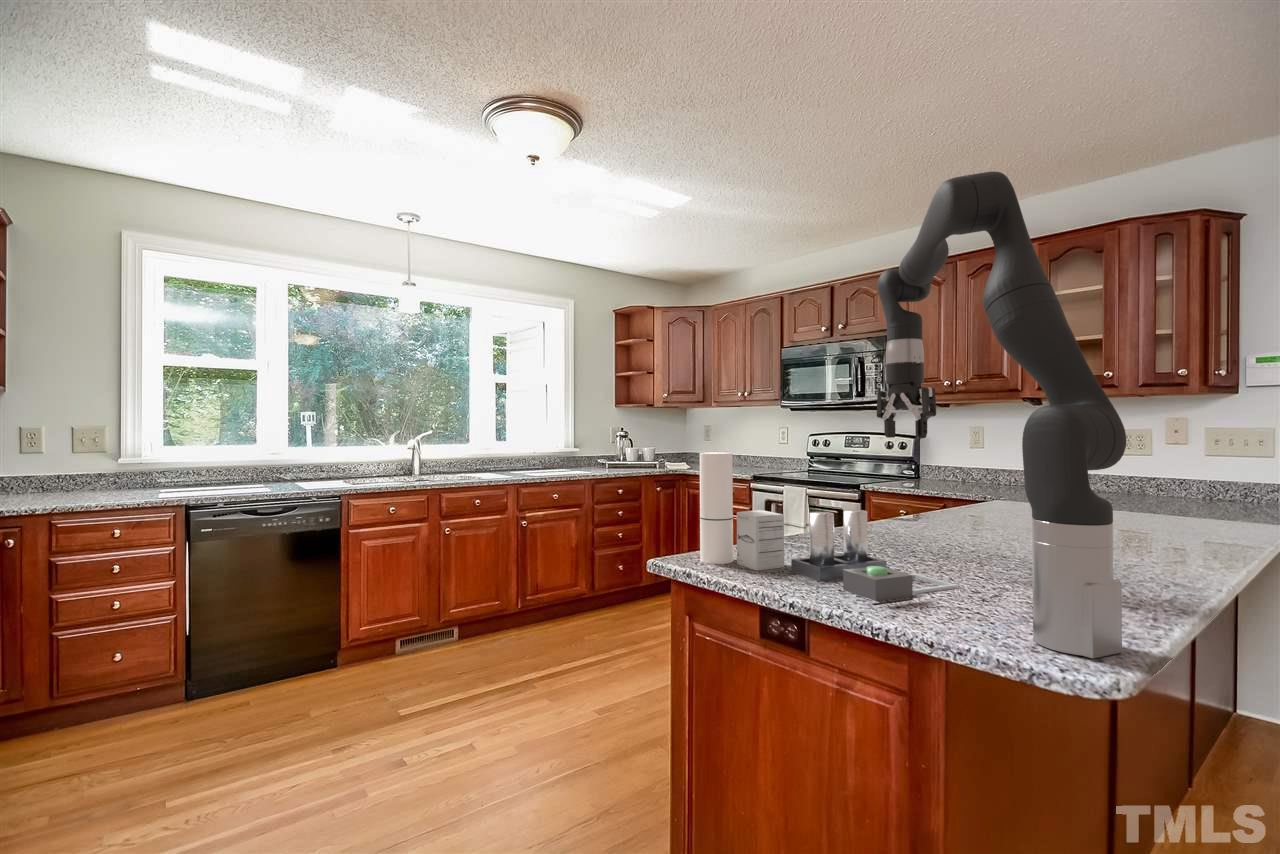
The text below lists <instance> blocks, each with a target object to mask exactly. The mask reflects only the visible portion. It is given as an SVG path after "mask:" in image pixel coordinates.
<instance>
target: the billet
mask: <svg viewBox="0 0 1280 854" xmlns="http://www.w3.org/2000/svg"><path fill="white" fill-rule="evenodd" d="M842 511H843V512H842V514H843V515H842V516H843V517H842V522H843V524H842V525H843V526H842V527H843V528H842V529H843V533H842V534H843V554H844V561H848V562H851V563H857V562H866V561H868V552H869V550H868V549H869V548H868V547H869V545H868V544H869V543H868V541H869V540H868V539H869V538H868V537H869V536H868V510H864V509H863V510H862V509H845V510H842Z"/></svg>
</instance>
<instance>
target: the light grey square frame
mask: <svg viewBox="0 0 1280 854" xmlns="http://www.w3.org/2000/svg"><path fill="white" fill-rule="evenodd" d="M908 574H909V575H912V579H913V578H916V579H919V580H923V581H926V582H930V583H933V584H936V585H935V586H927V587H921V588H920V587H919V588H913V587H912V590H913V595H915V594H922V593H923V594H925V593H930V592H937V591H946V590H953V589H954V590H955V589H958V584H954V583H952V582H947V581H944V580H940V579H937V578H933V577H929V576H926V575H923V574H918V573H914V572H912V573H908Z"/></svg>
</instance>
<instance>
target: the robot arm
mask: <svg viewBox="0 0 1280 854" xmlns="http://www.w3.org/2000/svg"><path fill="white" fill-rule="evenodd" d="M1026 225H1027V224H1026V222H1025V219H1024V216H1023V213H1022V209H1021V207H1020V204H1019V201H1018V197H1017V194H1016V191H1015V188H1014V186H1013V184H1012V183H1011V181H1010V179H1009V178H1008V176H1007V175H1006V174H1004V173H1002V172H1001V171H986V172H985V171H984V172H979V173H971V174H965V175H960V176H957V177H956V176H955V177H952V178H949V179H946V180H945V181H943V182H942V183H941V184H940V185H939V186H938V188H937V190H936V192H935V193H934V195H933V197H932V199H931V201H930V203H929V207H928V209H927V210H926V214H925V216H924V218H923V222H922V223H921V227H920V229H919V232H918V235H917V237H916V239H915V241H914V243H913V244H912V246H911V247H910V248H909V250H908V251H907V252H906V254H905V256H904V257H903V258H902V259H901V262H900V263H899V265H898V266H899V267H898V268H889V269H885V270H884V271H882V273H881V274H880V276H879V277H878V279H877V292H878V296H879V297H878V298H879V300H880V303H881V306H882V309H883V313H884V316H885V322H886V348H885V384H887V385H888V390H878V391H877V397H876V417H877V418H879V419H882V421H883V422H884V423H883V425H884V426H883V431H884V435H885V438H891V439H892V438H893V439H894V438H895V437H896V420H895V419H896V417H897V416H898V414H899V413H901V411H902V410H909V411H910V412H911V413H912V414H913V416H914V417H915V422H914V423H915V425H914V426H915V439H916V438H917V439H926V438H927V435H928V420H929V419H930V418H932V417H936V416H937V404H936V389H935V387H928V386H926V387H925V386H924V387H922V385H923V384H924V382H925V349H924V344H923V343H924V342H923V319H922V315H921V314H919V313H918V312H914V311H909V310H906V309H904V308H903V307H902V306H901V304H900V303H915V302H916V303H917V302H920V301H923V300H925V299H926V298H928V296H929V295H930V292H931V289H932V283H933V280H934V277H935V276H937V274H938V273H939V272H940V271H941V270H942V269H943V267H944V266H945V265H946V262H947V260H948V257H949V252H950V251H949V250H950V249H949V244H948V241H947V240H946V239H947V238H950V236H953V235H956V236H957V235H958V236H960V235H966V234H972V233H979V232H980V233H981V232H986V233H987V234H988V235H989V237H990V238H991V241H992V243H993V247H994V251H995V255H994V261H993V265H992V267H991V270H990V273H989V275H988V278H987V280H986V284H985V287H984V291H983V295H982V304H983V308H984V311H985V315H986V317H987V319H988V322H989V325H990V327H991V330H992V331H993V333H994V334H993V335H994V336H995V338H996V340H997V342H998V344H999V345H1000V346H1001V347H1002V348H1003V350H1004V351H1005V352H1006V353H1007V354H1008V355H1009V356H1010V357H1011V358H1012V359H1013V360H1014V361H1015V362H1016V363H1017V364H1018V365H1019V366H1020V367H1022V368H1023V370H1025V371H1026V372H1027V373H1028V374H1029V375H1030V376H1031V377H1032V379H1034V381H1036V383H1037V384H1038V385H1039V387H1040V389H1041V390H1042V391H1043V393H1044V395H1045V397H1046V400H1047V401H1048V403H1049V404H1048V405H1044V406H1041V407H1039V408H1037V409H1036V410H1034V411H1033V412H1032V413H1031V414H1030V415H1029V417H1028V418H1027V420H1026V422H1025V425H1024V428H1023V433H1022V437H1021V438H1022V439H1021V440H1022V441H1021V442H1022V444H1021V445H1022V446H1021V447H1022V449H1021V450H1022V464H1023V466H1022V467H1023V477H1024V479H1023V480H1024V490H1025V491H1024V492H1025V495H1026V498H1027V501H1028V502H1029V505H1030V508H1031V532H1032V533H1031V535H1032V537H1031V545H1032V546H1031V547H1032V549H1031V550H1032V553H1031V558H1032V560H1031V562H1032V563H1031V564H1032V567H1031V568H1032V570H1031V571H1032V638H1033V641H1034V642H1035V643H1036V644H1038V645H1040V646H1042V647H1044V648H1047V649H1048V650H1049V649H1050V650H1053V651H1057V652H1061V653H1064V654H1069V655H1070V654H1071V655H1076V656H1083V657H1086V658H1090V659H1098V658H1102V657H1106V656H1107V657H1108V656H1112V655H1115V654H1120V653H1123V617H1122V615H1123V609H1122V606H1123V604H1122V602H1123V600H1122V596H1123V595H1122V594H1123V592H1122V582H1121V581H1120V580H1118V579H1114V578H1115V577H1114V509H1113V508H1114V507H1113V506H1112V503H1111V502H1110V501H1109V500H1107V499H1105V498H1103V497H1100V496H1099V495H1097V494H1096V493H1095V492H1094V491H1093V489H1092V488H1091V485H1090V479H1089V471H1099V470H1105V469H1109V468H1112V467H1113V466H1115V465H1116V464H1118V463H1119V462H1120V461H1121V459H1122V458H1123V456H1124V454H1125V451H1126V447H1127V434H1126V429H1125V426H1124V424H1123V421H1122V419H1121V417H1120V416H1119V412H1117V410H1116V408H1115V406H1114V404H1113V403H1112V401H1111V400H1110V398H1109V397H1108V396H1107V393H1106V392H1105V391H1104V389H1103V388H1102V386H1101V384H1100V383H1099V381H1098V380H1097V378H1096V376H1095V375H1094V373H1093V371H1092V369H1091V368H1090V366H1089V364H1088V362H1087V360H1086V358H1085V356H1084V354H1083V351H1082V350H1081V347H1080V346H1079V345H1080V344H1079V343H1078V341H1077V339H1076V337H1075V334H1074V333H1073V330H1072V329H1071V326H1070V325H1069V323H1068V320H1067V317H1066V315H1065V312H1064V310H1063V308H1062V305H1061V303H1060V301H1059V299H1058V297H1057V295H1056V292H1055V291H1054V288H1053V285H1052V284H1051V282H1050V280H1049V278H1048V276H1047V274H1046V272H1045V270H1044V267H1043V265H1042V264H1041V261H1040V259H1039V256H1038V255H1037V252H1036V250H1035V247H1034V245H1033V242H1032V240H1031V237H1030V234H1029V232H1028V229H1027V226H1026Z"/></svg>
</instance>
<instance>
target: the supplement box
mask: <svg viewBox="0 0 1280 854" xmlns="http://www.w3.org/2000/svg"><path fill="white" fill-rule="evenodd" d="M736 565H739V566H741V567H745V568H748V569H750V570H754V571H762V570H763V571H764V570H771V569H777V568H784V567H785V514H784V513H783V514H782V513H778V512H773V511H768V510H763V509H758V510H747V511H737V512H736Z"/></svg>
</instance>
